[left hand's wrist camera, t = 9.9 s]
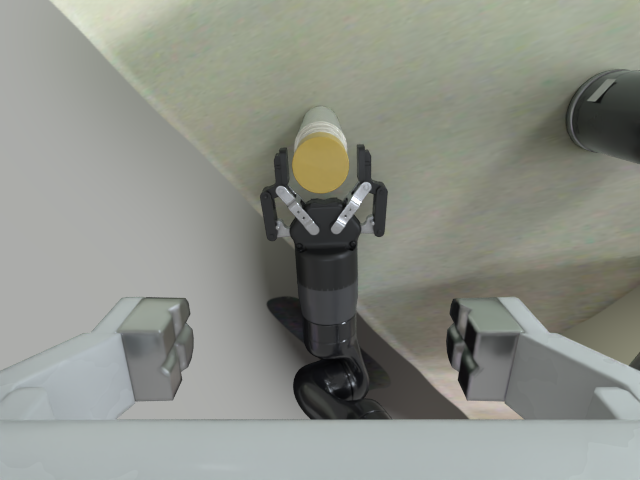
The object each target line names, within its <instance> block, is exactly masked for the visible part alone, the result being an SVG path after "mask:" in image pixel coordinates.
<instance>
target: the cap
mask: <svg viewBox="0 0 640 480" xmlns="http://www.w3.org/2000/svg"><path fill="white" fill-rule="evenodd" d="M292 170H293V174H294V176H295V179H296V180H297V182H298V183H299V184H300V185H301V186H302V187H303V188H304V189H306V190H308V191H310V192H313V193H328V192H331V191H333V190H335V189H337V188H338V187H339V186H340V185H341V184H342V183H343V182H344V181H345V179H346V177H347V175H348V171H349V159H348V156H347V153H346V150H345V147H344V145H343V144H342V142H341V141H340V140H339V139H338V138H337V137H336V136H334V135H332V134H330V133H326V132H315V133H312V134H309V135H307V136H306V137H304V138H303V139H302V140H301V141H300V143H299V144H298V146H297V148H296V150H295V153H294V156H293V160H292Z"/></svg>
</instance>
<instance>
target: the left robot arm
mask: <svg viewBox="0 0 640 480" xmlns="http://www.w3.org/2000/svg"><path fill="white" fill-rule="evenodd" d="M189 316H190V309H189V303H188V301H187V300H186V298H152V297H146V298H145V297H126V298H121V299H120V301H119V302H118V303H117V304H116V305H115V306H114V307H113V308H112V309H111V311H110V312H109V313H108V314H107V315H106V316H105V317H104V318H103V319H102V321H101V322H100V323H99V324H98V325H97V326H96V327H95V328H94V330H93V331H92V332H91V333H83V334H81V335H79V336H76V337H74V338H72V339H70V340H68V341H65V342H63V343H61V344H59V345H56V346H54V347H52V348H50V349H48V350H46V351H43V352H41V353H39V354H37V355H34V356H32V357H30V358H28V359H26V360H23V361H21V362H19V363H17V364H15V365H12V366H10V367H8V368H6V369H3V370H1V371H0V480H640V371H639V370H636V369H634V368H632V367H630V366H628V365H625V364H623V363H621V362H619V361H617V360H614V359H612V358H610V357H608V356H605V355H603V354H601V353H599V352H597V351H594V350H592V349H590V348H588V347H586V346H583V345H581V344H579V343H577V342H575V341H572V340H570V339H568V338H566V337H564V336H561V335H559V334H557V333H549V332H548V331H547V330H546V328H545V327H544V326H543V325H542V324H541V323H540V322H539V321H538V320H537V318H536V317H535V316H534V315H533V314H532V313H531V312H530V311H529V309H528V308H527V307H526V306H525V305H524V304H523V303H522V302H521V301H520V299H518V298H516V297H499V298H497V297H492V298H456V299H453V301H452V304H451V308H450V316H451V317H452V319H453V321H454V323H453V324H452V325H451V326H450V327H449V328H448V330H447V339H446V344H447V354H448V358H449V361H450V363H451V366H452V367H453V368H454V369H455V370H457V371H458V372H459V376H458V381H459V384H460V386H461V388H462V390H463V392H464V394H465V397H466V399H467V400H471V401H505V404H506V405H508V406H509V407H510V408H511V409H513V410H514V411H515V412H516V413H517V414H519V415H520V416H521V417H522V418H524V419H525V420H115V419H117V418H118V417H119V416H120V415H122V414H123V413H124V412H125V411H126V410H128V409H129V408H130V407H131V406H132V405H134V404H135V401H167V400H173V399H174V397H175V394H176V392H177V390H178V388H179V386H180V384H181V381H182V376H181V372H182V371H183V370H184V369H186V368H187V367H188V366H189V363H190V361H191V358H192V353H193V339H194V338H193V330H192V328H191V327H190V326H189V325H188V324H187V323H186V321H187V319H188V317H189Z"/></svg>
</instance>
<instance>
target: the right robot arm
mask: <svg viewBox="0 0 640 480" xmlns="http://www.w3.org/2000/svg"><path fill="white" fill-rule="evenodd" d="M566 123H567V130H568V133H569V135H570V137H571V139H572V140H573V141H574V142H575V143H576V144H577V145H578V146H579V147H581V148H583V149H585V150H588V151H592V152H597V153H602V154H606V155H609V156H612V157H616V158H620V159H623V160H627V161H630V162H634V163H637V164H640V70H609V71H605V72H602V73H600V74H597V75H595V76H594V77H592V78H591V79H589V80H588V81H587V82H585V83H584V84H583V85H582V86H581V87H580V88H579V90H578V91H577V92H576V94H575V95H574V97H573V98H572V100H571V103H570V105H569V108H568V112H567V119H566ZM274 167H275V178H276V183H275V184H274V185H271V186H267V187H265V188H264V189H263V192H262V193H261V195H260V199H261V205H262V211H263V217H264V223H265V229H266V235H267V239H268V240H270V241H275V240H276V239H277V237H286V236H291V238H292V239H293V241H294V244H295V255H296V269H297V284H298V295H299V301H300V305H301V310H302V322H303V336H304V343H305V346H306V348H307V350H308V351H309V352H310V353H311V354H312V355H314V356H316V357H318V358H323V359H322V360H320V361H317V362H314V363H311V364H308V365H305V366H304V367H302V368H301V369H299V371H298V372H297V373H296V375H295V378H294V383H293V390H294V395H295V398H296V400H297V402H298V404H299V406H300V407H301V409H302V410H303V411H304V413H305V414H306V415H307V416H308V417H309V418H310V419H311V420H393V419H392V418H391V417H390V416H389V415H388V413H387V412H386V411H385V409H384V408H383V407H382V406H381V405H380V404H379V403H378V402H376V401H375V400H372V399H366V398H364V397H365V396H366V394H367V393H368V390H369V387H370V377H369V373H368V370H367V368H366V365H365V362H364V360H363V357H362V354H361V350H360V346H359V343H358V339H357V334H356V305H357V298H358V264H357V240H358V237H359V235H360V233H374V234H375V236H377V237H381V236H383V235H384V231H385V218H386V206H387V193H388V191H387V189H386V187H385V185H384V184H383V183H382V182H377V181H374V180H372V179H371V155H370V153H369V151H368V150H365V147H364V145H363V144H362V145H357V177H358V180H359V181H358V182H357V184H356V185H355V186H354V188H353V189H352V190H351V191H350V192H349V193H348V194H347V196H346V197H345V198H344V200H343V201H341V200H339V199H337V198H329V199H326V200H322V199H311V200H310V201H308V202H305V201H304V200H303V199H302V198H301V197H300V195H299V194H297V193H296V192H295V191H294V190H293V189H292V188H291V187H290V185H289V184H288V182H289V167H288V154H287V148H280V150H279V153H277V154H276V156H275V159H274ZM368 193H372V194H374V197H373V213H372V214H370V215H368V216H367V218H366V221H365V222H364V223H360V222H359V220H358V219H357V218H356V216H355V215H354V213H355V212H356V210H357V209H358V208H359V206H360V205H361V202H362V201H363V199H364V198H365V197H366V195H367V194H368ZM276 197H280V198H281V199H282V200H283V202H284V203H285V204H286V205H287V207H288V209H289V210H290V211H291V212H292V213H293V214H294V215H295V219H294V220H293V222H292V223H291V225H290V226H286V225H285V224H284V221H283V220H282V219H280V218H277V213H276V206H275V200H274V198H276ZM298 211H299V212H298ZM629 366H630V367H632V368H634V369H636V370H639V371H640V352H639V354H638V355H637V356H636V357H635V359H634V360H633V361H632V362H631V363H630V365H629ZM363 398H364V399H363Z"/></svg>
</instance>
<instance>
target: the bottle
mask: <svg viewBox="0 0 640 480" xmlns="http://www.w3.org/2000/svg"><path fill="white" fill-rule="evenodd" d="M315 132H326V133H330V134H332V135H334V136H336V137H337V138H338V139H339V140H340V141H341V142H342V144H343V145H344V147H345V150H346V153H347V142H346V139H345V136H344V134H343V131H342V128H341V126H340V123H339V121H338V118H337V116H336V114H335V113H334V112H333V111H332V110H331V109H329V108H327V107H324V106H317V107H314V108H312V109H310V110H309V111H308V112H307V113H306V115H305V116H304V119H303V121H302V124H301V126H300V129H299V132H298V134H297V137H296V139H295V143H294V153H295V150H296V148H297V146H298V144H299V143H300V141H301V140H302V139H303V138H304V137H306V136H307V135H309V134H312V133H315Z"/></svg>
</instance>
